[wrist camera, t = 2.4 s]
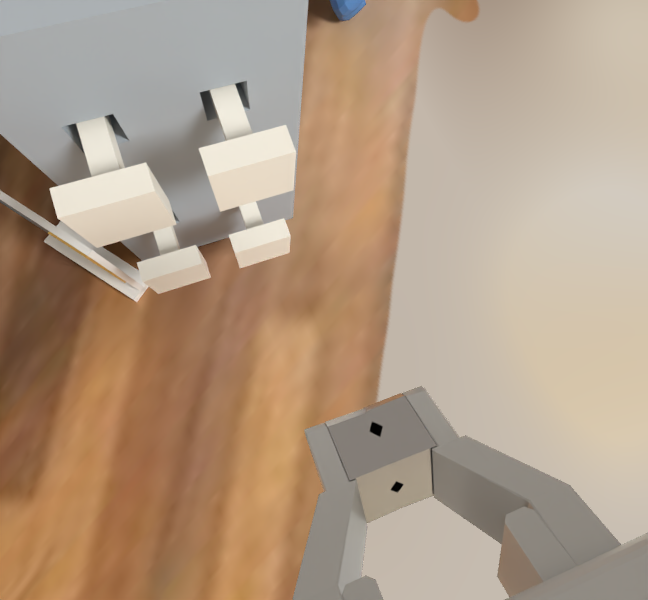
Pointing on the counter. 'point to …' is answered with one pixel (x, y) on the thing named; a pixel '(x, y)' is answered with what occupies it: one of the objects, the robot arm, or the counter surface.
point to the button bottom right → (259, 237)
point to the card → (84, 252)
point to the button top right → (246, 156)
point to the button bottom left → (172, 264)
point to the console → (151, 91)
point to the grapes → (347, 8)
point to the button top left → (111, 192)
